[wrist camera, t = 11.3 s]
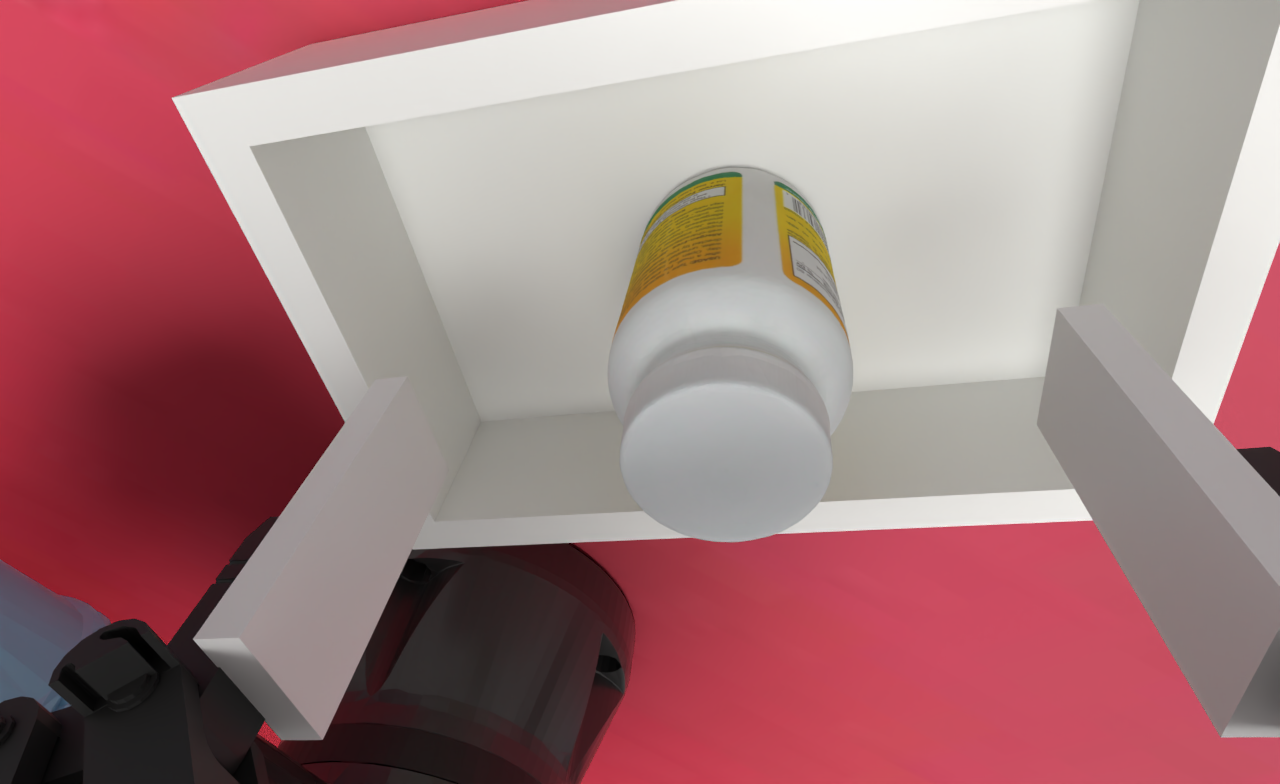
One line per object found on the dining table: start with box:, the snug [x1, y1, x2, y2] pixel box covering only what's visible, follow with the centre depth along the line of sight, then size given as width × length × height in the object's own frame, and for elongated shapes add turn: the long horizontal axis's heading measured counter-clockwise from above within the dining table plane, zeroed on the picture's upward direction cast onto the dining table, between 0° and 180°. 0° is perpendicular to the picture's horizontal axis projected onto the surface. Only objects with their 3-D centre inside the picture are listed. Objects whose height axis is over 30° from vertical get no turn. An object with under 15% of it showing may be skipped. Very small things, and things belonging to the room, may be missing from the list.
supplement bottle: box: [608, 168, 853, 542], centre depth 17 cm, size 5×5×10 cm
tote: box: [172, 0, 1280, 550], centre depth 19 cm, size 22×14×6 cm, turn 100°
